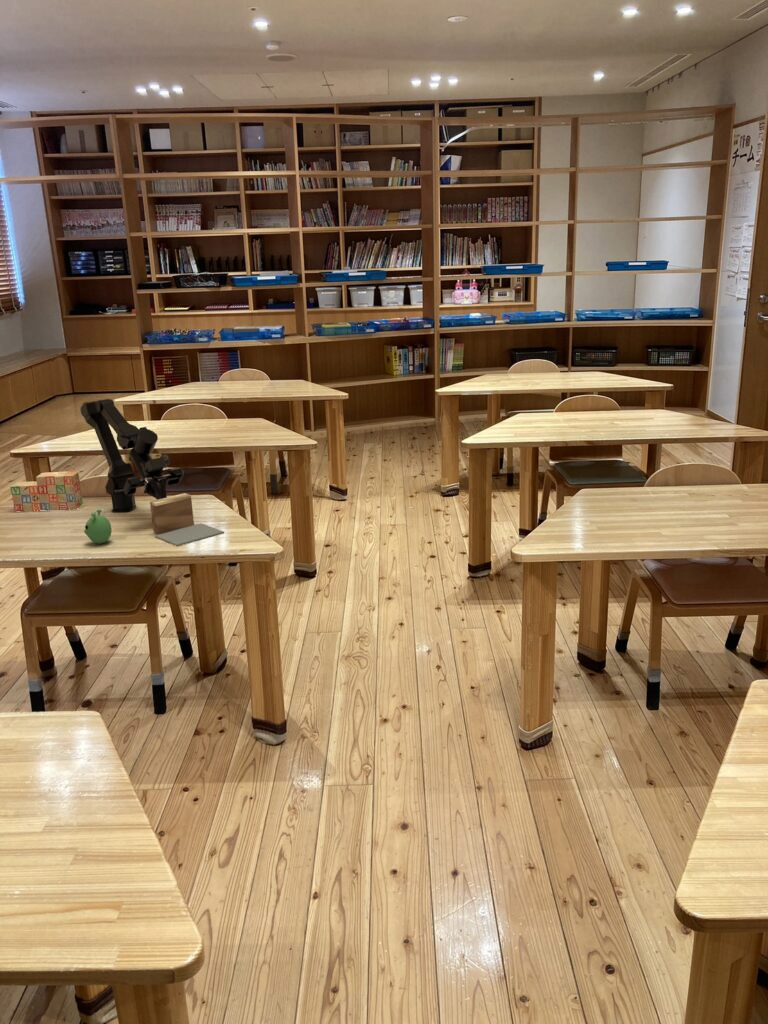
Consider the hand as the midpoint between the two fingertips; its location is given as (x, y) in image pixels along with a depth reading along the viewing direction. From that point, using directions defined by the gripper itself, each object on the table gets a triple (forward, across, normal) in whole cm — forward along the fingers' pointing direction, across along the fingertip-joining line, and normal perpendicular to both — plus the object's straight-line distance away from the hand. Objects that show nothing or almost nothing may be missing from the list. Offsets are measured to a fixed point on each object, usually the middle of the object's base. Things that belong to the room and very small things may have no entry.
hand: (165, 502), depth 250 cm
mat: (+14, 0, -3) cm, 15 cm away
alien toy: (+4, -22, +7) cm, 23 cm away
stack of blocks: (-31, -16, +42) cm, 55 cm away
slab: (+8, 0, +3) cm, 9 cm away
